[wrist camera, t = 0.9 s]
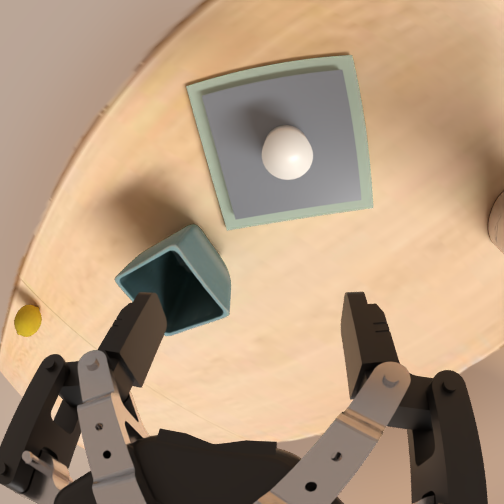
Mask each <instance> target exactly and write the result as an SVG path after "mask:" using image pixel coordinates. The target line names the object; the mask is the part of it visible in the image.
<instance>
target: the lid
mask: <svg viewBox="0 0 504 504" xmlns="http://www.w3.org/2000/svg"><path fill="white" fill-rule="evenodd" d="M202 99H203V103H204V106H205V110H206V114H207V117H208V121H209V125H210V128H211V132H212V136H213V139H214V143H215V147H216V150H217V154H218V158H219V161H220V165H221V169H222V172H223V176H224V180H225V183H226V187H227V191H228V194H229V198H230V201H231V205H232V209H233V212H234V216H235V219H236V220H237V219H243V218H248V217H254V216H260V215H266V214H272V213H278V212H284V211H290V210H297V209H303V208H310V207H316V206H323V205H330V204H337V203H344V202H351V201H358V200H361V189H360V178H359V168H358V160H357V151H356V144H355V137H354V130H353V123H352V117H351V111H350V105H349V100H348V94H347V89H346V84H345V79H344V75H343V70H333V71H323V72H315V73H307V74H300V75H293V76H287V77H281V78H275V79H270V80H265V81H260V82H255V83H250V84H246V85H241V86H237V87H233V88H229V89H225V90H221V91H217V92H214V93H210V94H207V95H203V96H202Z"/></svg>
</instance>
